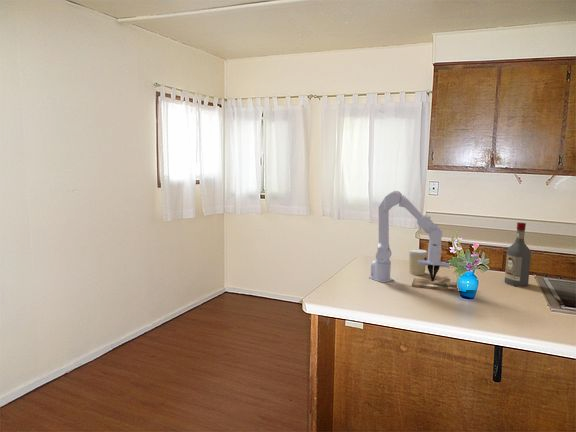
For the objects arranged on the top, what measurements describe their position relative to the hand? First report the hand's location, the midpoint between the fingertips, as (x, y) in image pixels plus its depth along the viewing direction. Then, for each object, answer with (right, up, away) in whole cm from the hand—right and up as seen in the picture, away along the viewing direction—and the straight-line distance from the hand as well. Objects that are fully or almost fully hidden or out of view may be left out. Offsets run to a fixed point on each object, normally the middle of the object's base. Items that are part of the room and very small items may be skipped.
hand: (432, 280), depth 208 cm
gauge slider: (+5, -1, -3) cm, 6 cm away
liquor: (+42, -3, +5) cm, 43 cm away
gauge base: (+3, -2, -1) cm, 4 cm away
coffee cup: (-1, +1, +22) cm, 22 cm away
